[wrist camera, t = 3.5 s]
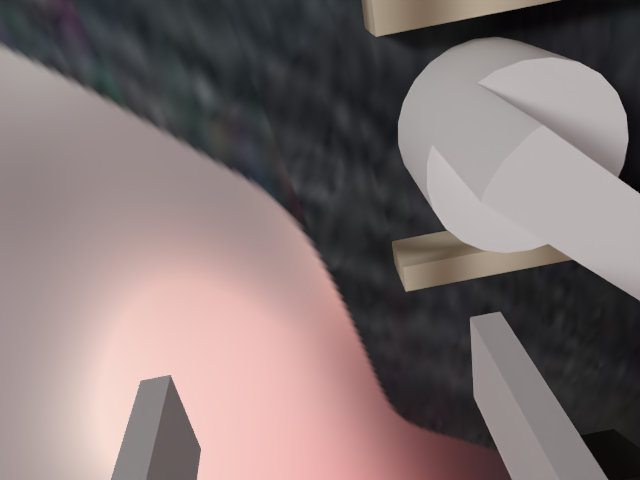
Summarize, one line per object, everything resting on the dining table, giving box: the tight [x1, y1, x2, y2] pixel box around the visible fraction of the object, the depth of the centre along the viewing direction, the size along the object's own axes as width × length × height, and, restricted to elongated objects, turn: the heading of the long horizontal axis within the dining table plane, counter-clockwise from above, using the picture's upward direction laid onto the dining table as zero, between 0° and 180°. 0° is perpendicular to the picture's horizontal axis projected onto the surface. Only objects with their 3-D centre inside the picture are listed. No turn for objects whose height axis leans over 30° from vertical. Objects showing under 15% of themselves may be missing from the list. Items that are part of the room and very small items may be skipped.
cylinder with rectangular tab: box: [398, 37, 640, 300], centre depth 24 cm, size 9×9×12 cm
